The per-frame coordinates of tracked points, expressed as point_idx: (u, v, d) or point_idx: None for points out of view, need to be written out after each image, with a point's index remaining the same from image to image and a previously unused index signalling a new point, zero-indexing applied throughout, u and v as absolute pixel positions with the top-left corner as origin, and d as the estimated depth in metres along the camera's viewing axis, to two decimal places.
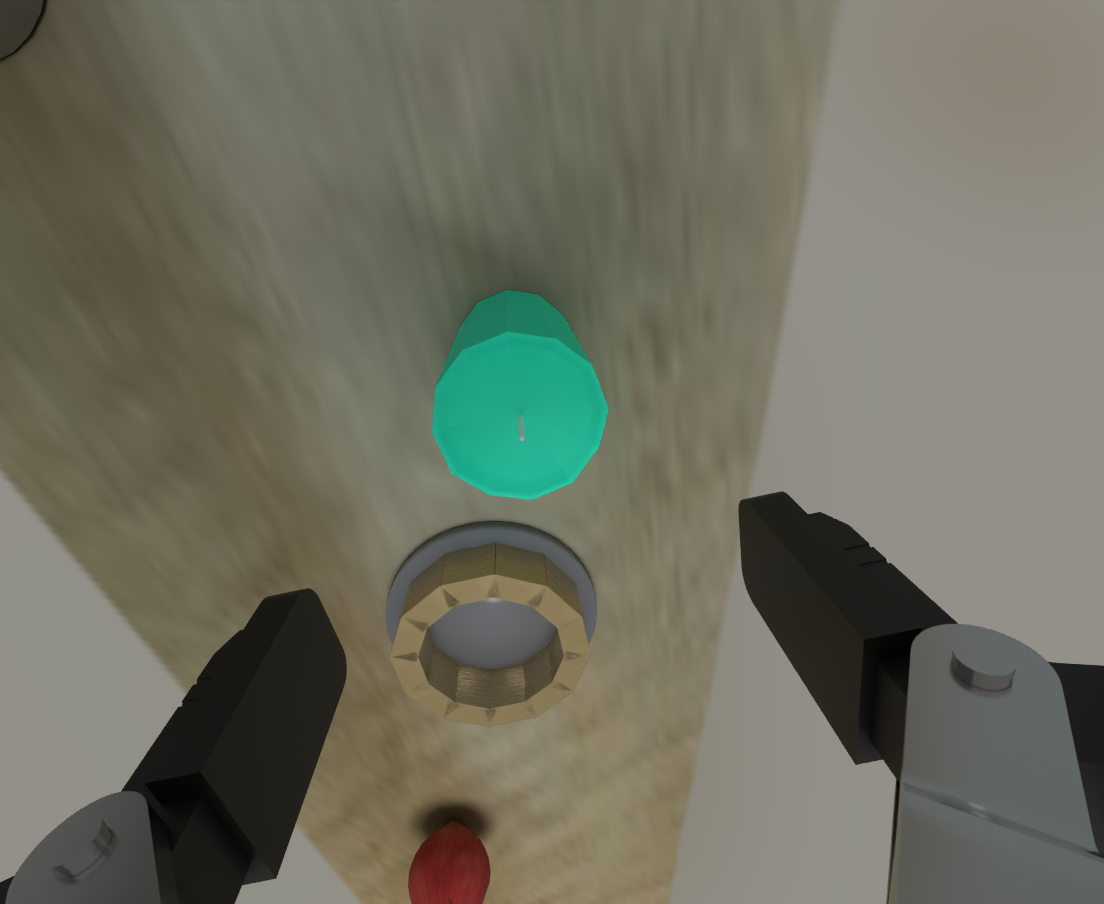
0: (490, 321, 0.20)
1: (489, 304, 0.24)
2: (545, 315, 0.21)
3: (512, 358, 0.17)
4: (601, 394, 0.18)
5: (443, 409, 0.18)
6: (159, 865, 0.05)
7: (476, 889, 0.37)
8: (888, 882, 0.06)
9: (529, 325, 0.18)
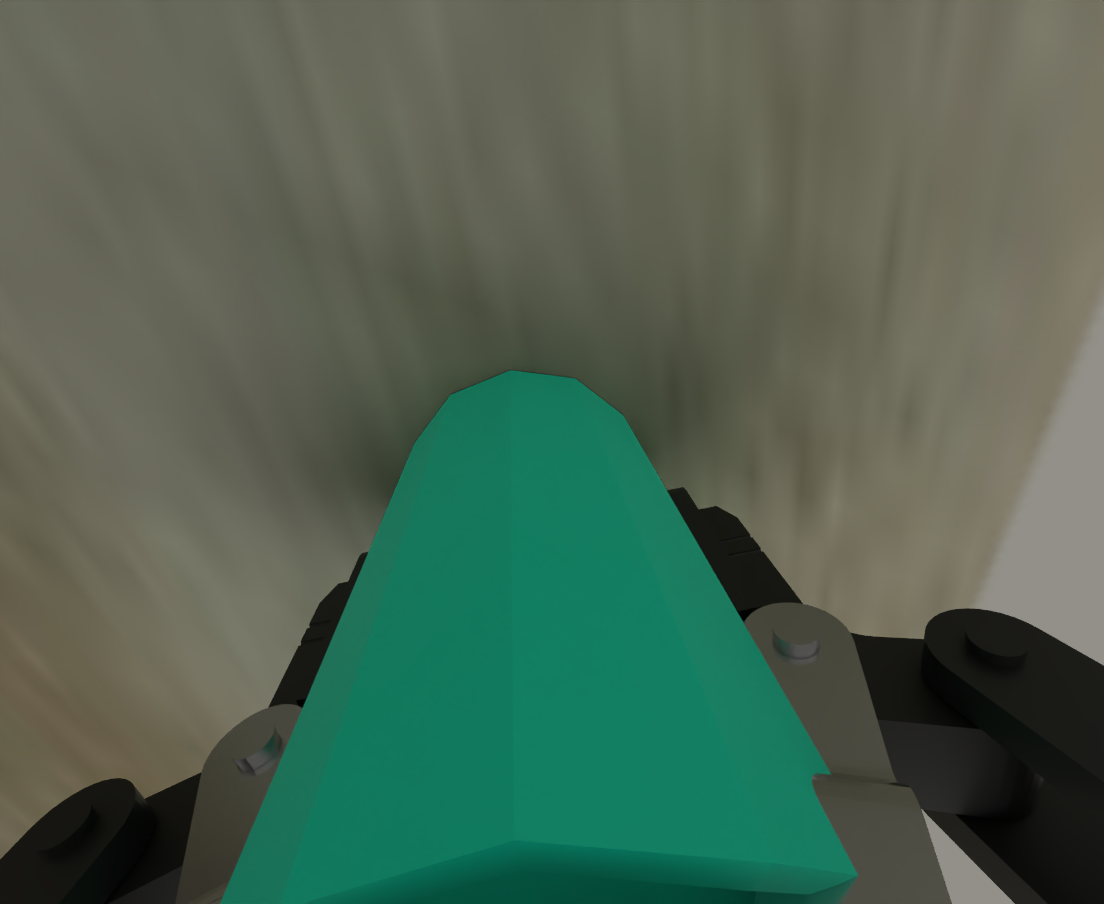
0: (457, 558, 0.06)
1: (470, 422, 0.10)
2: (623, 505, 0.07)
3: None
4: None
5: None
6: None
7: None
8: None
9: (600, 646, 0.05)
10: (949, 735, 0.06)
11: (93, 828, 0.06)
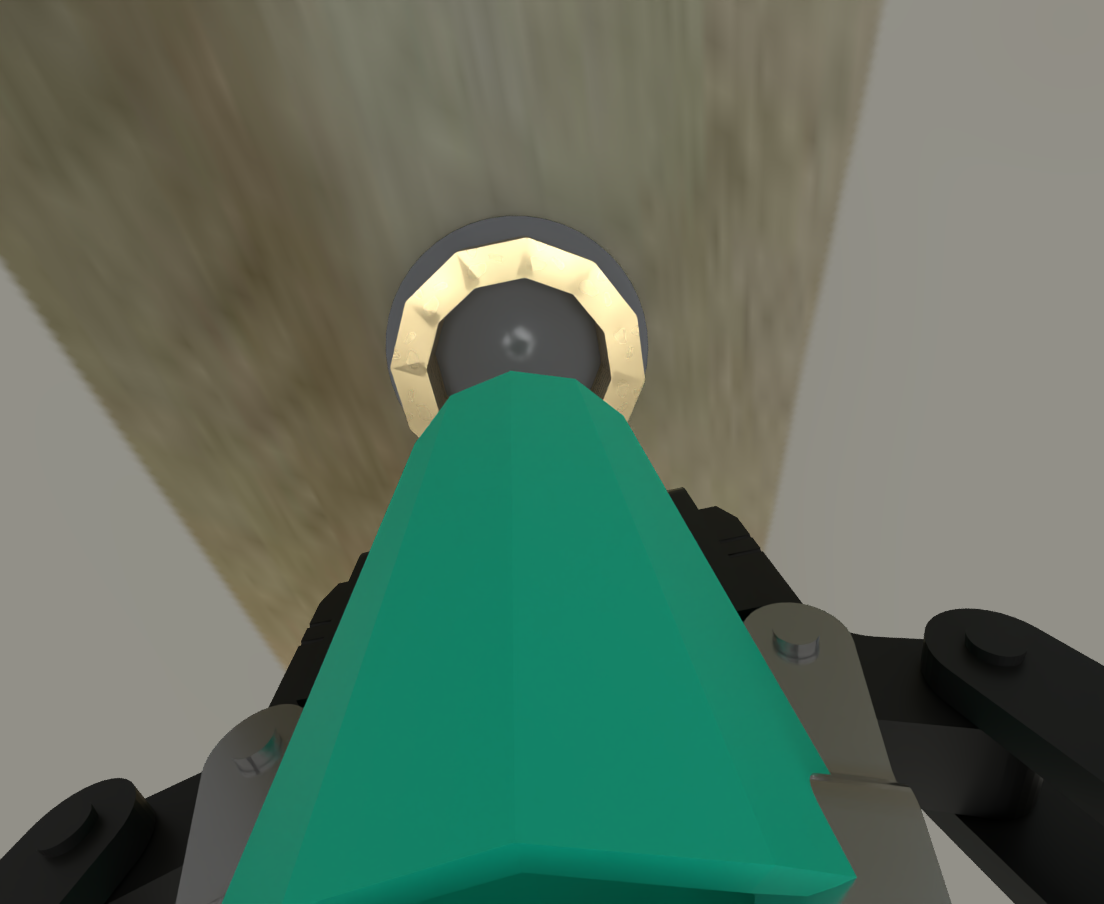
0: (457, 560, 0.06)
1: (470, 422, 0.10)
2: (623, 506, 0.07)
3: None
4: None
5: None
6: None
7: None
8: None
9: (600, 648, 0.05)
10: (949, 735, 0.06)
11: (93, 828, 0.06)
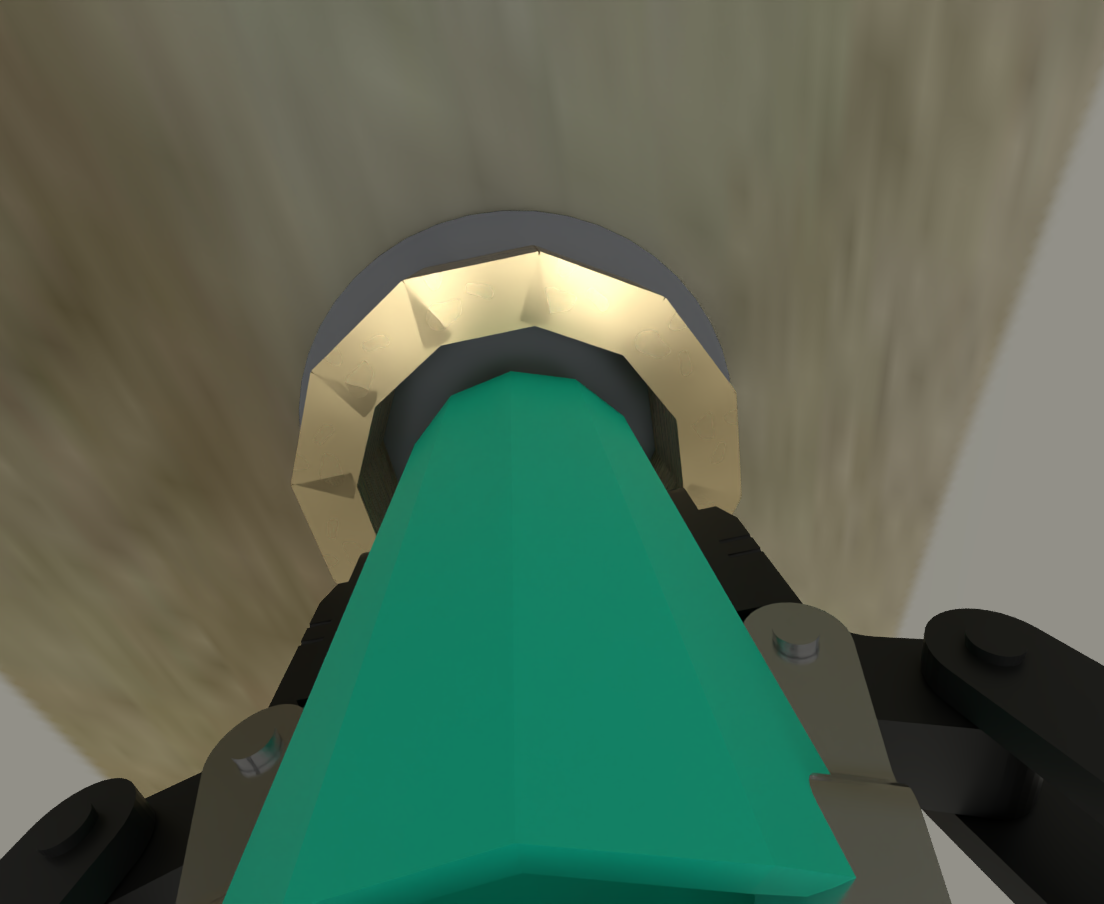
0: (457, 560, 0.06)
1: (470, 423, 0.10)
2: (623, 506, 0.07)
3: None
4: None
5: None
6: None
7: None
8: None
9: (600, 649, 0.05)
10: (949, 735, 0.06)
11: (93, 828, 0.06)
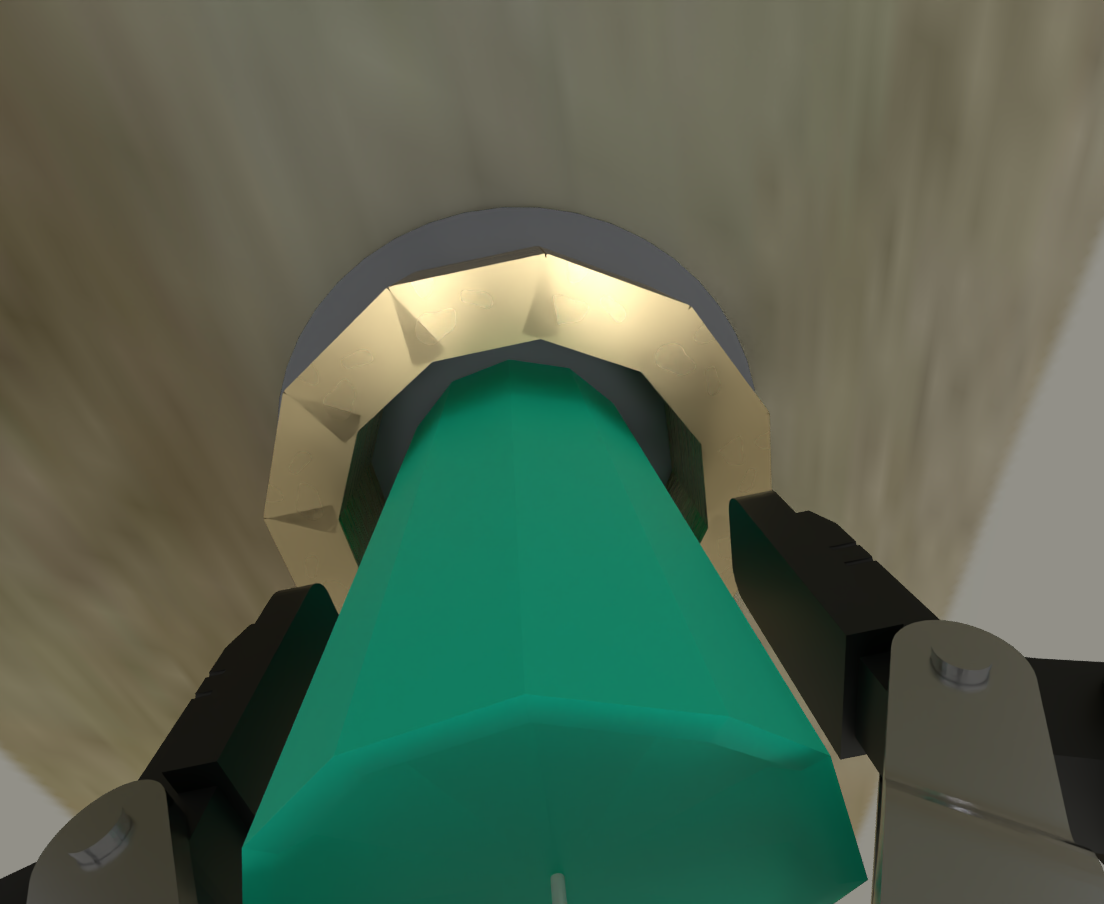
0: (466, 510, 0.07)
1: (472, 403, 0.11)
2: (613, 471, 0.08)
3: (538, 738, 0.05)
4: (849, 839, 0.05)
5: None
6: (179, 851, 0.05)
7: None
8: (873, 877, 0.06)
9: (592, 573, 0.05)
10: None
11: None
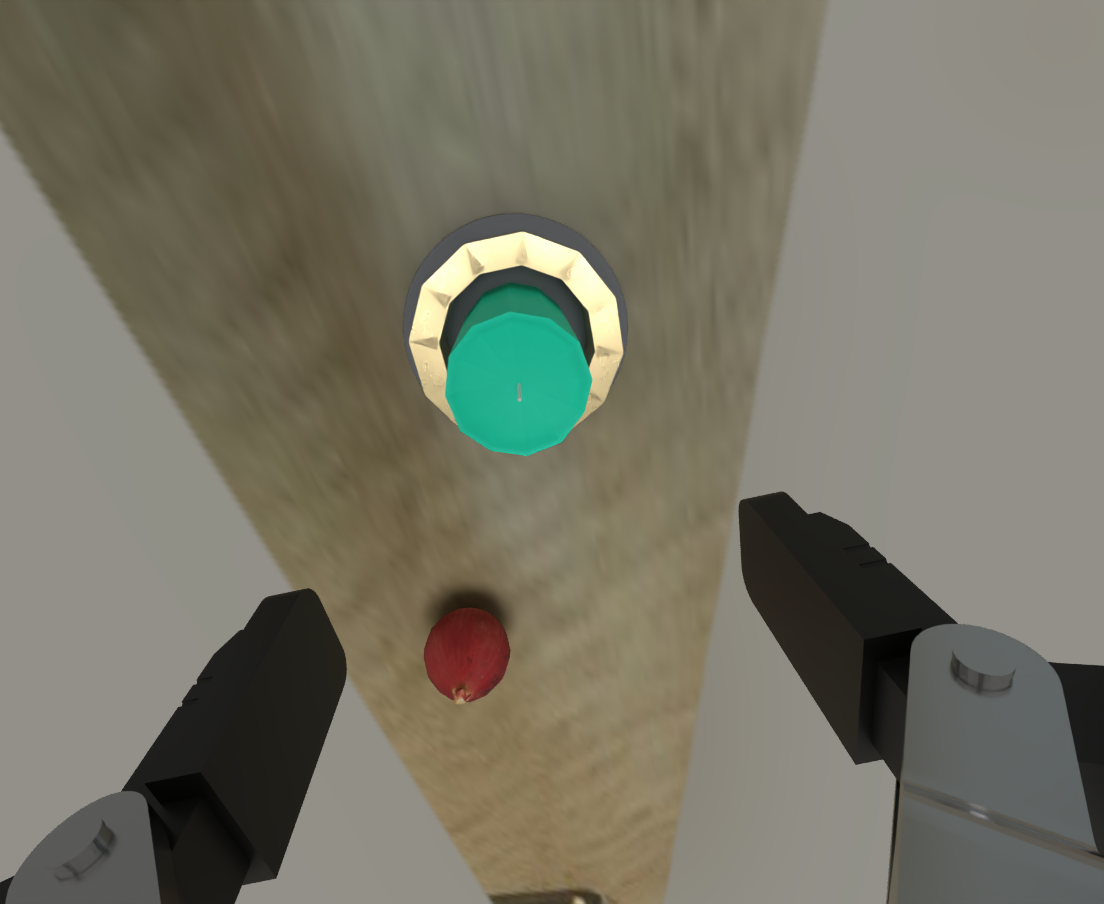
0: (495, 305, 0.23)
1: (494, 293, 0.27)
2: (542, 302, 0.24)
3: (513, 334, 0.21)
4: (586, 366, 0.21)
5: (454, 376, 0.21)
6: (159, 865, 0.05)
7: (496, 654, 0.35)
8: (888, 882, 0.06)
9: (527, 308, 0.22)
10: None
11: None
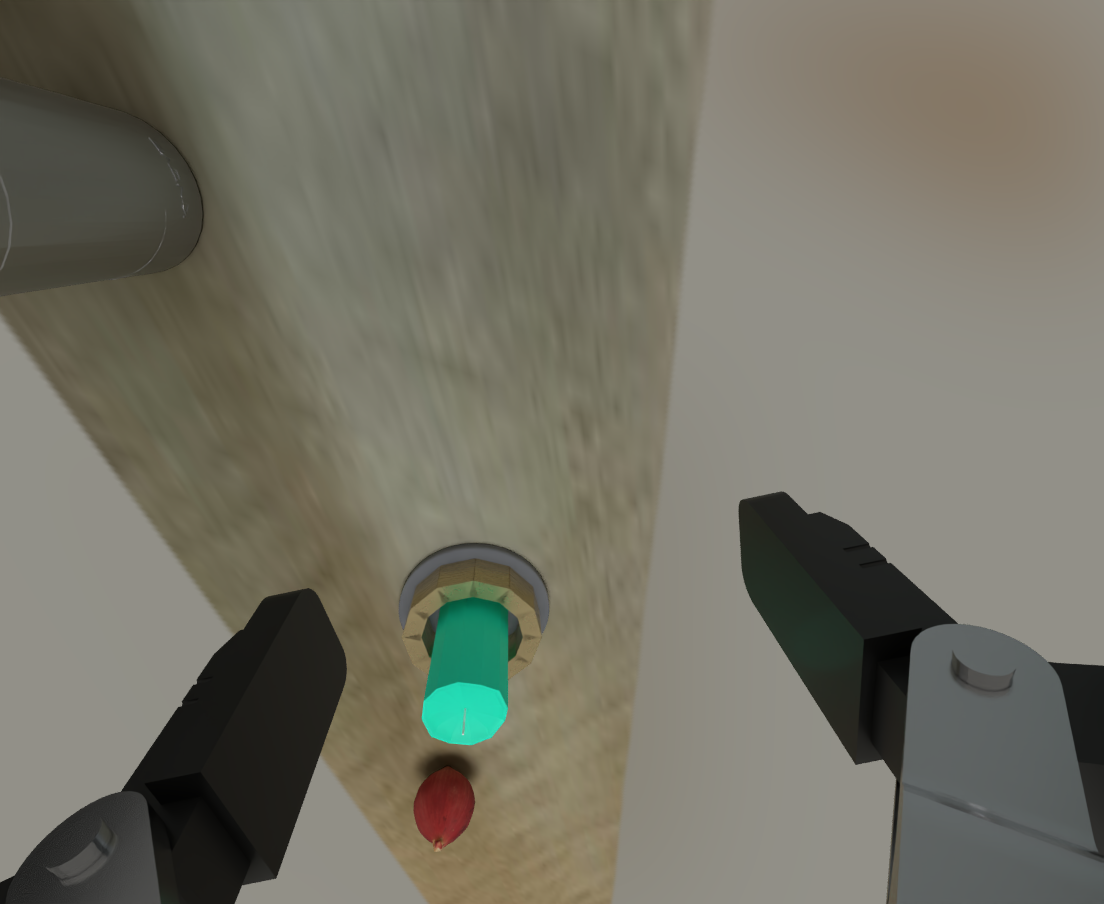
0: (453, 650, 0.39)
1: (456, 608, 0.43)
2: (482, 638, 0.40)
3: (460, 687, 0.36)
4: (504, 702, 0.37)
5: (427, 709, 0.37)
6: (160, 865, 0.05)
7: (463, 812, 0.50)
8: (888, 882, 0.06)
9: (470, 664, 0.37)
10: None
11: None
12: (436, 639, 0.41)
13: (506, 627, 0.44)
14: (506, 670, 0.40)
